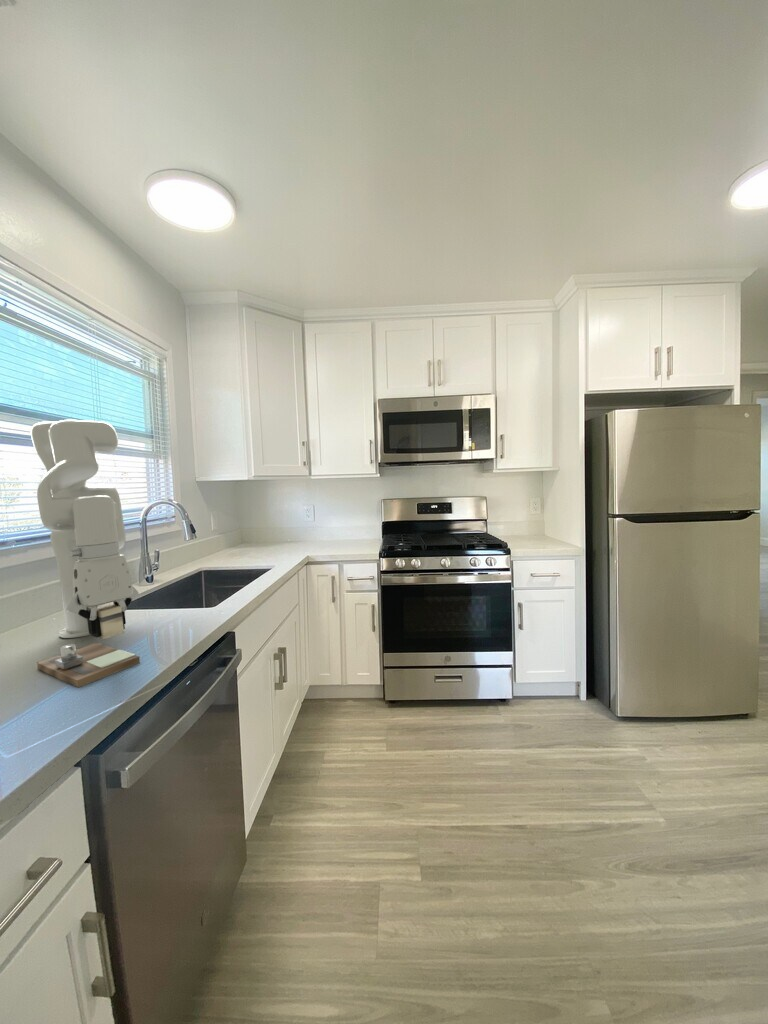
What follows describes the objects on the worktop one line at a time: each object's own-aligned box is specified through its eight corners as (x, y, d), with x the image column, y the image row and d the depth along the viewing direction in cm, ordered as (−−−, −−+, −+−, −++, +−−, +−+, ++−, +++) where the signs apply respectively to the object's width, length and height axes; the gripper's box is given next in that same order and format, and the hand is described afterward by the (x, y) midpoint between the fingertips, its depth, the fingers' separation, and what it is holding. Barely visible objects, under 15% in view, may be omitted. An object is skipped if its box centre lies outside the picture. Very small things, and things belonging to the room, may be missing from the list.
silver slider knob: (56, 666, 87) (53, 647, 86) (75, 659, 90) (73, 641, 89) (64, 669, 85) (61, 651, 84) (83, 662, 88) (81, 644, 87)
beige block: (92, 635, 89) (89, 609, 88) (112, 629, 92) (109, 604, 92) (104, 639, 86) (101, 611, 86) (124, 632, 90) (121, 606, 89)
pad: (86, 662, 89) (86, 661, 89) (120, 650, 95) (119, 649, 95) (101, 668, 85) (101, 667, 85) (135, 655, 91) (135, 654, 91)
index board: (37, 669, 90) (36, 662, 90) (97, 648, 101) (96, 642, 101) (78, 687, 80) (77, 680, 80) (139, 662, 90) (139, 655, 90)
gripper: (60, 559, 79) (71, 649, 80) (146, 545, 93) (155, 622, 94) (44, 558, 83) (55, 644, 84) (130, 545, 97) (138, 618, 98)
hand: (108, 631), depth 89 cm, fingers closed on beige block, 4 cm apart
